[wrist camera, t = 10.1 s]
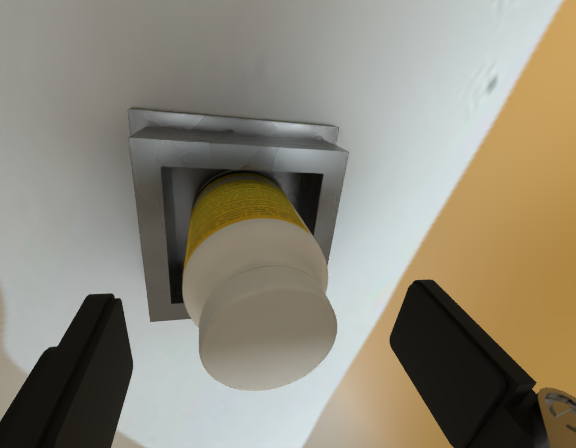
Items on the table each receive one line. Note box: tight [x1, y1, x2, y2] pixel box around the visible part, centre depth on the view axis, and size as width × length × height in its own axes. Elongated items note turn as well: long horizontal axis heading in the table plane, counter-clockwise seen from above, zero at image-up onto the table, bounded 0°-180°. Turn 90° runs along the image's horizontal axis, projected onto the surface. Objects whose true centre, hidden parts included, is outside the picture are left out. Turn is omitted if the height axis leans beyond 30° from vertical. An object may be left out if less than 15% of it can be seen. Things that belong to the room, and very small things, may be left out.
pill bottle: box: [182, 170, 337, 391], centre depth 14 cm, size 6×6×11 cm
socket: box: [128, 108, 349, 322], centre depth 18 cm, size 12×12×4 cm
